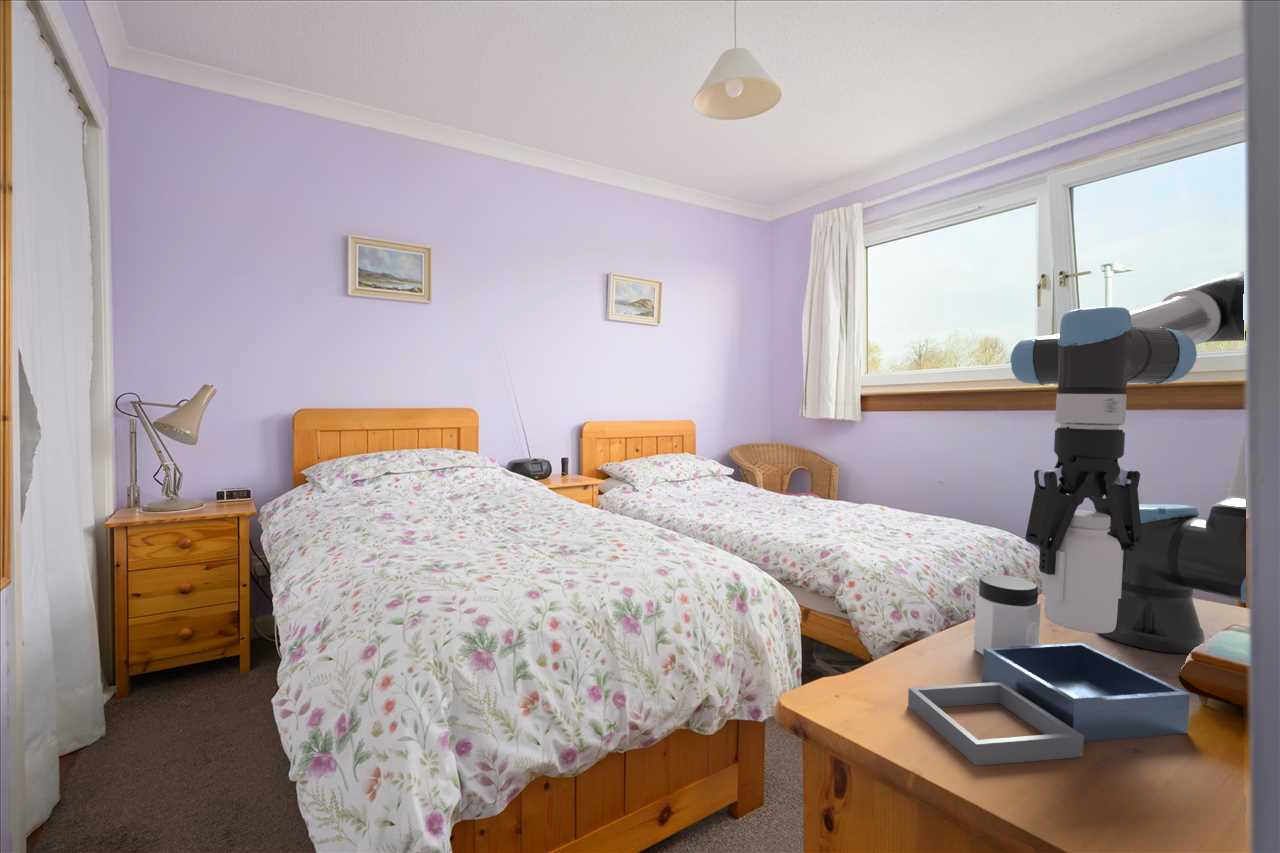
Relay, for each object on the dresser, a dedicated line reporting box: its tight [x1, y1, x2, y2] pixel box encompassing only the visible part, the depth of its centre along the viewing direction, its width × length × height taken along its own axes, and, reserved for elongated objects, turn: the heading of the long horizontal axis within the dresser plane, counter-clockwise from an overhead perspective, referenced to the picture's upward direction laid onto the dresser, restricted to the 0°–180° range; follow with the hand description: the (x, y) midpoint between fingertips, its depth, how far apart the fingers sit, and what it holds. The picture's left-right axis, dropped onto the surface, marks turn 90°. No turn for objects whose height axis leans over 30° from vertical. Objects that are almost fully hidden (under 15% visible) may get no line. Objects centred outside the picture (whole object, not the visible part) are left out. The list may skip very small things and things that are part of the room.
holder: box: [907, 682, 1085, 767], centre depth 78 cm, size 14×14×2 cm
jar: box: [973, 574, 1041, 656], centre depth 100 cm, size 9×8×12 cm
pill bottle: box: [1044, 509, 1121, 634], centre depth 83 cm, size 8×8×15 cm
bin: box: [981, 642, 1191, 743], centre depth 84 cm, size 16×16×5 cm
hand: (1081, 596), depth 84 cm, fingers closed on pill bottle, 8 cm apart
